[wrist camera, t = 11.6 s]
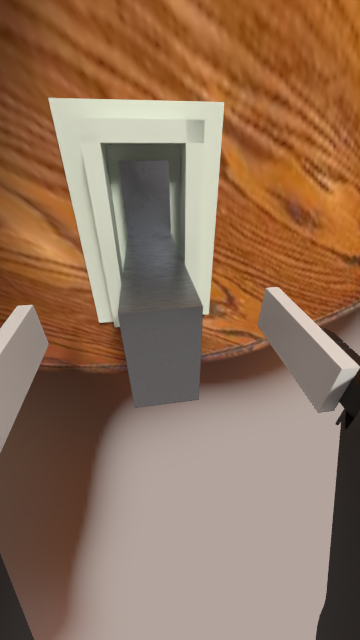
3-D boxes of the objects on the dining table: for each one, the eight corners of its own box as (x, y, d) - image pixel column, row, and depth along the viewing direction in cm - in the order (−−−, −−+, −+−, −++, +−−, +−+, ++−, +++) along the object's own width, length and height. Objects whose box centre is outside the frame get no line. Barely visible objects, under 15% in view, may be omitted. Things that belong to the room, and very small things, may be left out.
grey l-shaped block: (136, 290, 25) (134, 407, 13) (119, 160, 18) (90, 165, 7) (170, 288, 25) (198, 399, 13) (165, 160, 19) (209, 164, 7)
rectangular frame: (100, 317, 27) (95, 340, 24) (52, 100, 17) (32, 87, 14) (206, 309, 28) (215, 329, 25) (220, 104, 18) (238, 93, 15)
